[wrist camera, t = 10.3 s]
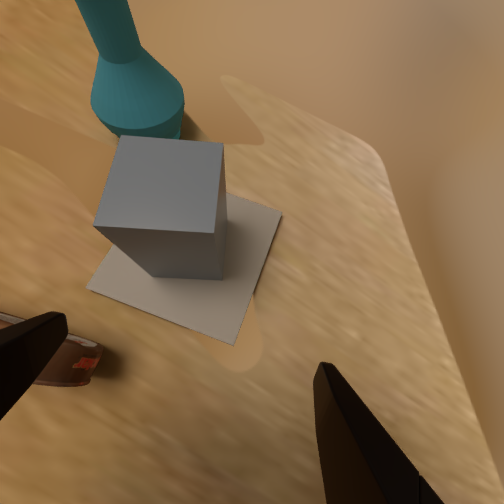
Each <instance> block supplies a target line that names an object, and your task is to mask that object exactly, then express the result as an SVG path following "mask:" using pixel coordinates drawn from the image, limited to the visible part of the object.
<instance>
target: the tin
mask: <svg viewBox="0 0 504 504" xmlns="http://www.w3.org/2000/svg"><path fill="white" fill-rule="evenodd" d="M25 320H27V319H23V318H20V317H17V316H13V315H10V314H6V313H3V312H0V329H2V328H5V327H8V326H11V325H13V324H16V323H19V322H22V321H25ZM102 353H103V346H102V345H101V344H99V343H96V342H94V341H91V340H88V339H85V338H82V337H79V336H76V335H73V334H70V333H68V336H67V338H66V339H65V341H64V342H63V344H62V345H61V346H60V348H59V349H58V350H57V352H56V353H55V354H54V356H53V357H52V359H51V360H50V361H49V363H48V364H47V365H46V367H45V368H44V369H43V371H42V372H41V373H40V375H39V376H38V377H37V379H36V380H35V381H34V382H33V384H36V385H46V386H57V387H78V386H84V385H87V384H88V383H89V382H90V380H91V379H90V377H91V375H92V373H93V371H94V369H95V368H96V366H97V364H98V362H99V360H100V358H101V355H102Z"/></svg>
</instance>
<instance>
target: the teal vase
mask: <svg viewBox="0 0 504 504" xmlns="http://www.w3.org/2000/svg"><path fill="white" fill-rule="evenodd" d="M75 1H76V3H77V5H78V8H79V10H80V12H81V14H82V16H83V19H84V21H85V23H86V25H87V27H88V30H89V32H90V34H91V36H92V38H93V41H94V43H95V45H96V47H97V49H98V51H99V58H98V63H97V68H96V74H95V78H94V82H93V87H92V92H91V106H92V109H93V111H94V112H95V114H96V115H97V117H98V118H99V120H100V121H101V122H102V123H103V124H104V125H105V126H106V127H107V128H108V129H109V130H110V131H111V132H112V133H114V134H116V135H117V136H118V137H119V138H120V137H121V135H127V136H139V137H152V138H165V139H177V140H179V138H180V127H181V123H182V117H183V112H184V104H185V103H184V94H183V89H182V87H181V85H180V83H179V82H178V81H177V79H176V78H175V77H174V76H172V75H171V74H170V73H169V72H168V71H167V70H166V69H165V68H164V67H163V66H162V65H161V64H159V63H158V62H157V61H156V60H155V59H154V58H153V57H152V56H151V55H150V54H149V53H148V52H147V51H146V50H145V49H144V48H143V47H142V46H141V45H140V41H139V38H138V34H137V31H136V28H135V25H134V21H133V18H132V15H131V12H130V9H129V5H128V2H127V0H75Z"/></svg>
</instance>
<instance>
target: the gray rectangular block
mask: <svg viewBox="0 0 504 504" xmlns="http://www.w3.org/2000/svg"><path fill="white" fill-rule="evenodd" d="M227 220H228V219H227V201H226V183H225V164H224V146H223V143H215V142H202V141H190V140H177V139H165V138H152V137H139V136H127V135H121V137H120V140H119V143H118V146H117V150H116V153H115V156H114V159H113V162H112V166H111V169H110V172H109V175H108V178H107V182H106V185H105V188H104V191H103V194H102V198H101V201H100V204H99V207H98V210H97V213H96V217H95V220H94V223H93V226H94V227H95V228H96V229H97V230H98V231H99V232H101V233H102V234H103V235H104V236H105V237H106V238H108V239H109V240H110V241H111V242H112V243H113V244H115V245H116V246H117V247H118V248H119V249H120V250H121V251H123V252H124V253H125V254H126V255H127V256H128V257H130V258H131V259H132V260H133V261H134V262H135V263H136V264H138V265H139V266H140V267H141V268H142V269H143V270H145V271H146V272H147V273H148V274H149V275H150V276H152V277H163V278H182V279H201V280H220V281H222V280H223V268H224V256H225V244H226V232H227Z"/></svg>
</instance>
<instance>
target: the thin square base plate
mask: <svg viewBox="0 0 504 504" xmlns="http://www.w3.org/2000/svg"><path fill="white" fill-rule="evenodd" d="M226 201H227V219H228V220H227V232H226V244H225V256H224V268H223V280H222V281H220V280H201V279H182V278H163V277H152V276H150V275H149V274H148V273H147V272H146V271H145V270H143V269H142V268H141V267H140V266H139V265H138V264H136V263H135V262H134V261H133V260H132V259H131V258H130V257H128V256H127V255H126V254H125V253H124V252H123V251H121V250H120V249H119V248H118V247H117V246H116V245H115V244H113V245H112V247H111V249H110V250H109V252H108V253H107V255H106V256H105V258H104V259H103V261H102V263H101V264H100V266H99V267H98V269H97V270H96V272H95V274H94V275H93V277H92V278H91V280H90V281H89V283H88V284H87V286H86V288H87V289H89V290H92V291H94V292H97V293H100V294H102V295H105V296H107V297H110V298H112V299H115V300H117V301H120V302H123V303H125V304H128V305H130V306H133V307H135V308H138V309H140V310H143V311H146V312H148V313H151V314H153V315H156V316H158V317H161V318H163V319H166V320H169V321H171V322H174V323H176V324H179V325H181V326H184V327H186V328H189V329H192V330H194V331H197V332H199V333H202V334H204V335H207V336H210V337H212V338H215V339H217V340H220V341H222V342H225V343H227V344H230V345H232V346H234V344H235V341H236V338H237V335H238V333H239V330H240V327H241V324H242V322H243V319H244V316H245V313H246V311H247V308H248V305H249V302H250V300H251V297H252V294H253V291H254V289H255V286H256V283H257V280H258V278H259V275H260V272H261V270H262V267H263V264H264V261H265V259H266V256H267V253H268V250H269V248H270V245H271V242H272V239H273V237H274V234H275V231H276V228H277V226H278V223H279V220H280V217H281V215H282V212H281V211H278V210H275V209H272V208H270V207H267V206H264V205H261V204H258V203H255V202H252V201H249V200H246V199H244V198H241V197H238V196H235V195H232V194H229V193H226Z"/></svg>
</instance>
